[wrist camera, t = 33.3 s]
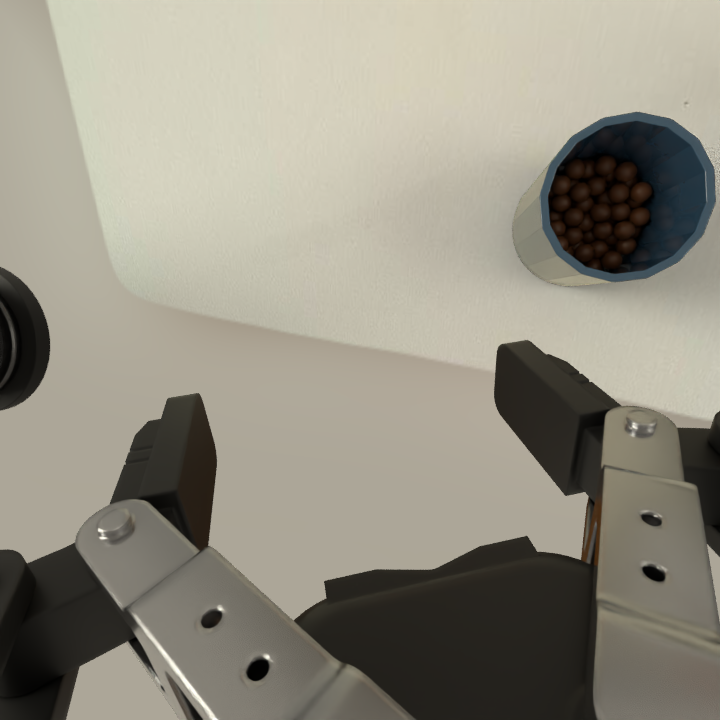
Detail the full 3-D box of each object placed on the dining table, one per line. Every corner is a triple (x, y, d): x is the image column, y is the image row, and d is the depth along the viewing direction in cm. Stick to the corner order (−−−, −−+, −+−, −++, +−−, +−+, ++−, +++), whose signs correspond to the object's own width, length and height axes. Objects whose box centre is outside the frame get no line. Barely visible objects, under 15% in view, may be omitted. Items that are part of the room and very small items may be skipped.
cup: (517, 292, 28) (546, 290, 21) (507, 177, 28) (534, 129, 20) (638, 277, 27) (718, 269, 19) (631, 157, 27) (711, 97, 19)
